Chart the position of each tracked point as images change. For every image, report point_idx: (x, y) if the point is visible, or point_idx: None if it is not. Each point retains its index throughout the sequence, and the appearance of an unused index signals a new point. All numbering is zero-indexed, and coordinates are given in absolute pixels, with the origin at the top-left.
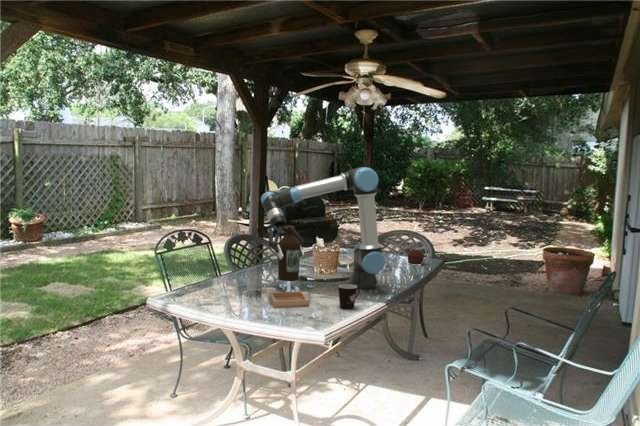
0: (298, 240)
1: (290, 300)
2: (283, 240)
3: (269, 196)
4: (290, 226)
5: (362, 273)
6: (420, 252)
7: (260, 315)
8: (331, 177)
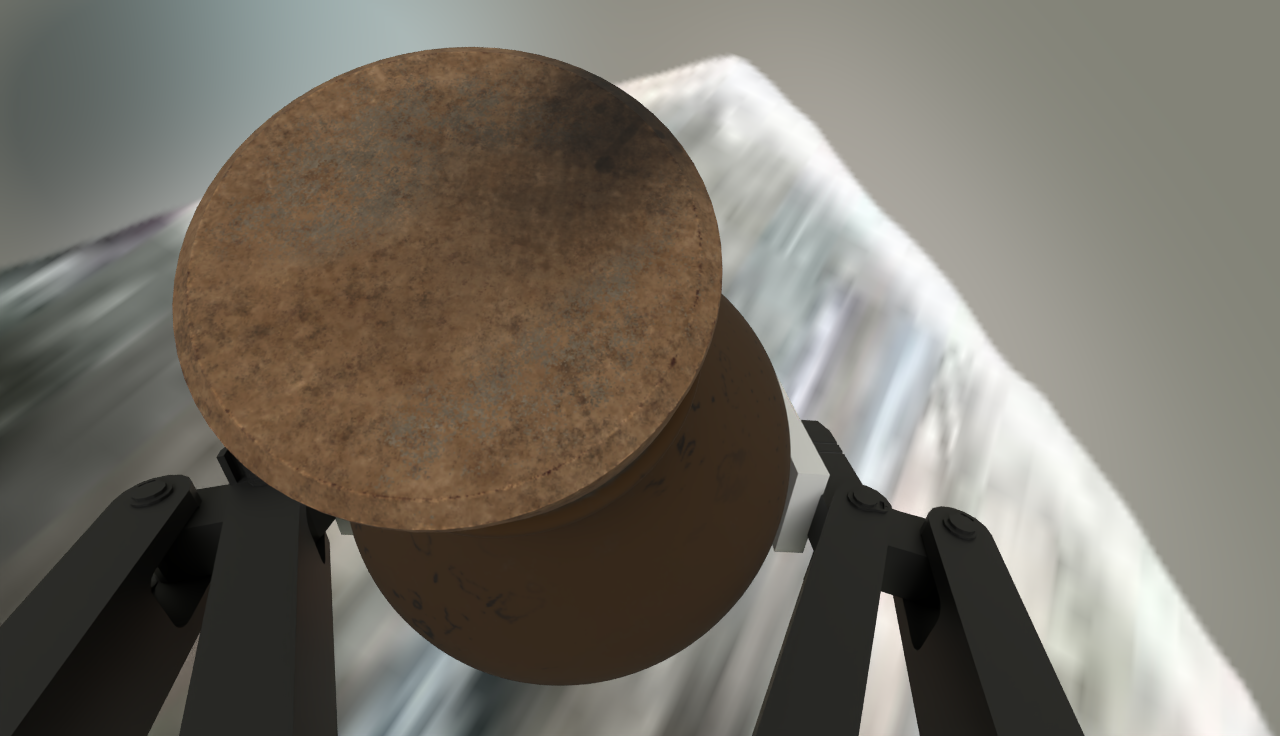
0: (251, 512)
1: None
2: (761, 381)
3: None
4: (536, 88)
5: None
6: None
7: (840, 348)
8: None
